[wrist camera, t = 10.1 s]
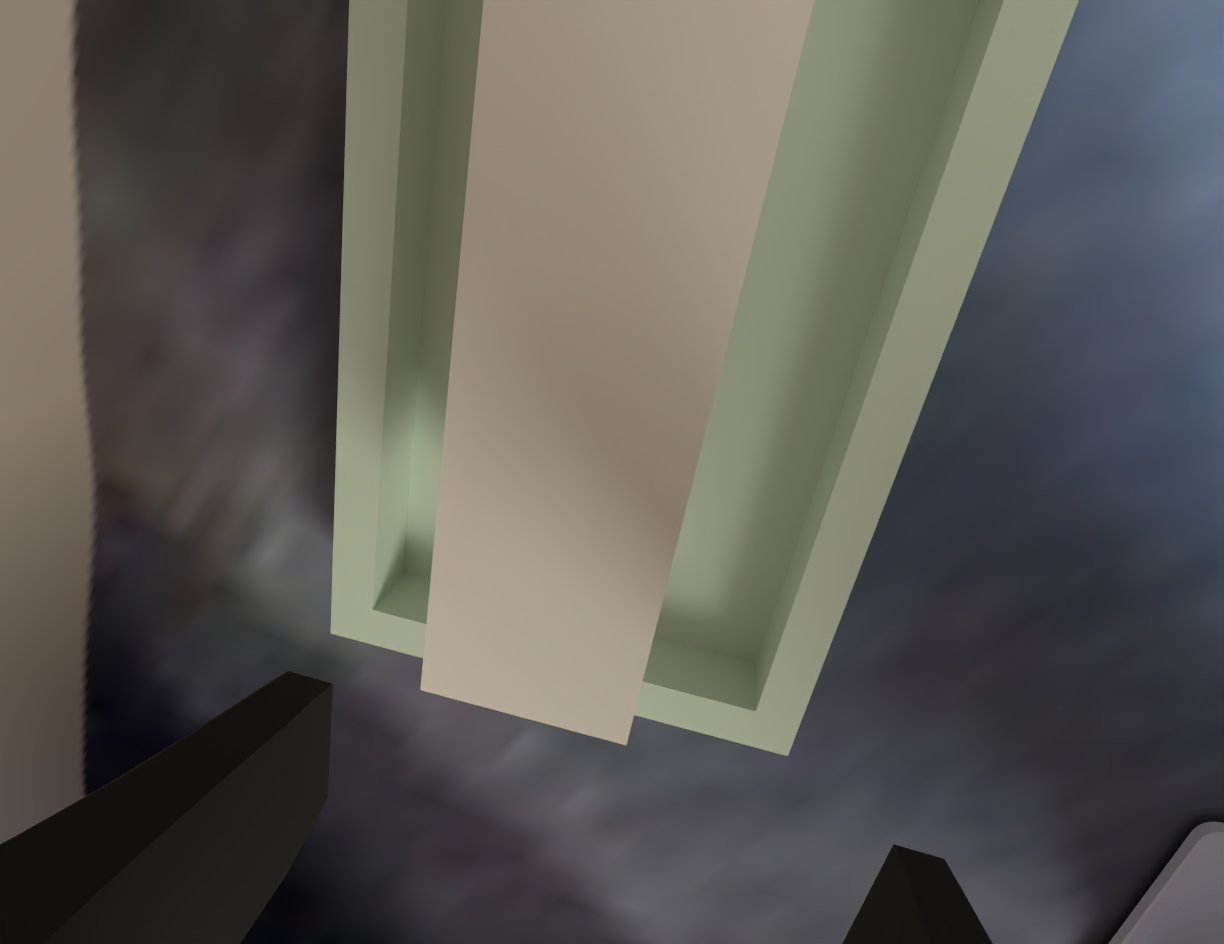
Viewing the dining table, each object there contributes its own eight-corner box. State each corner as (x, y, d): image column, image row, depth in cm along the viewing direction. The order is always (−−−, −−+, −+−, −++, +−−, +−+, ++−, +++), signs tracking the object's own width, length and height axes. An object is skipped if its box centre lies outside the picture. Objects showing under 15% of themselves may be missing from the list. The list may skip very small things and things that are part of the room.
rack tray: (1078, -128, 12) (1150, -186, 10) (784, 684, 20) (787, 756, 17) (427, -241, 13) (357, -317, 11) (377, 577, 20) (331, 633, 18)
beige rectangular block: (800, 16, 13) (830, -62, 8) (665, 558, 18) (626, 745, 12) (601, -21, 13) (494, -122, 8) (521, 522, 18) (420, 690, 13)
